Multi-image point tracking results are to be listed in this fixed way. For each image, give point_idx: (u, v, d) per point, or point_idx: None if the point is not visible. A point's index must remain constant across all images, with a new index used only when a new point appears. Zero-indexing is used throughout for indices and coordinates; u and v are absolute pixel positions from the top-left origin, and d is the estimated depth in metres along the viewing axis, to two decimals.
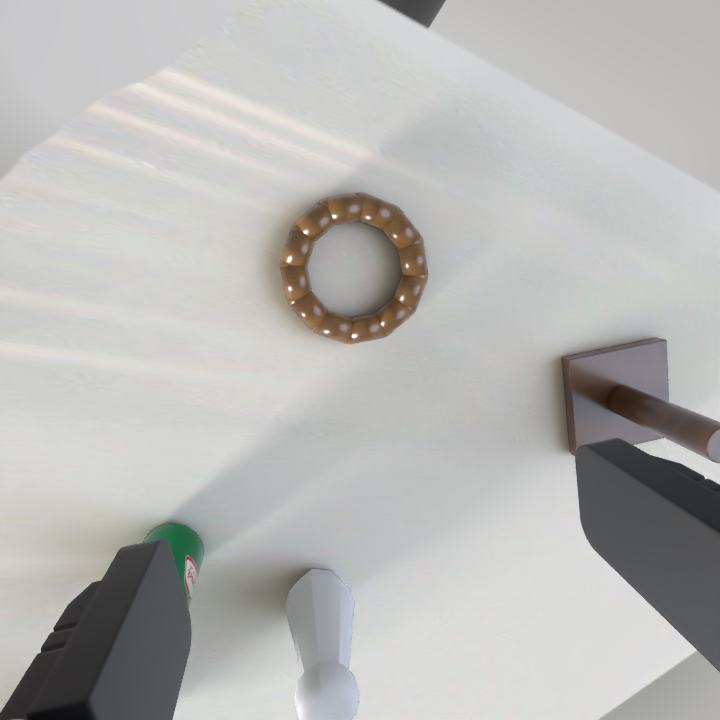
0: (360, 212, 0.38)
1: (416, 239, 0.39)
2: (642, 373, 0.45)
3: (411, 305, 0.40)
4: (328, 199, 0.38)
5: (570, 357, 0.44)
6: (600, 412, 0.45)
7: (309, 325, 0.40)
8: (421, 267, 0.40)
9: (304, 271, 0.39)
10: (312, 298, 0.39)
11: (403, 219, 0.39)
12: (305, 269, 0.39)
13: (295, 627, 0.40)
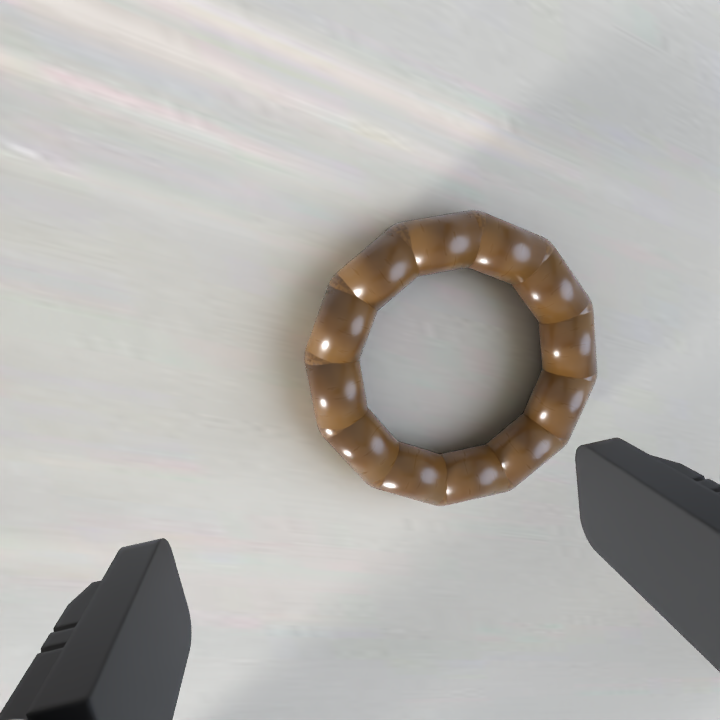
0: (475, 252, 0.18)
1: (584, 306, 0.19)
2: None
3: (565, 435, 0.20)
4: (408, 225, 0.18)
5: None
6: None
7: (362, 476, 0.20)
8: (589, 361, 0.20)
9: (355, 373, 0.19)
10: (370, 425, 0.19)
11: (560, 266, 0.19)
12: (357, 368, 0.19)
13: None
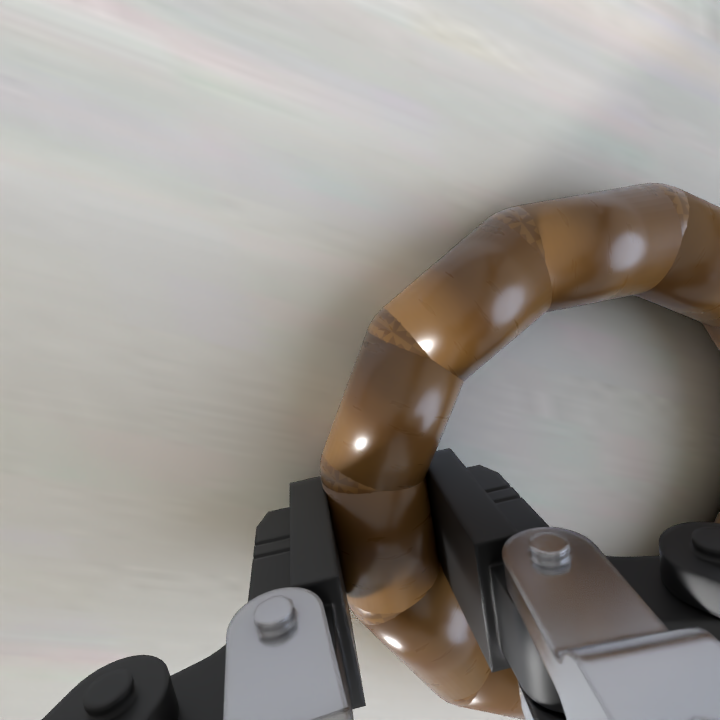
0: (665, 267, 0.09)
1: None
2: None
3: None
4: (533, 212, 0.09)
5: None
6: None
7: (428, 685, 0.11)
8: None
9: (421, 503, 0.10)
10: (447, 599, 0.10)
11: None
12: (424, 493, 0.10)
13: None
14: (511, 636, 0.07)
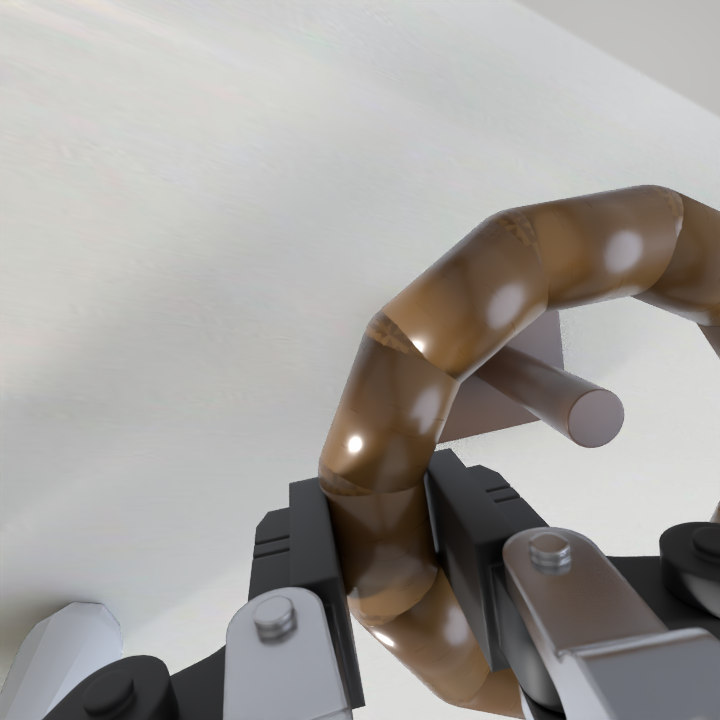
0: (661, 268, 0.09)
1: None
2: None
3: None
4: (529, 214, 0.09)
5: None
6: (466, 381, 0.32)
7: (428, 686, 0.11)
8: None
9: (419, 505, 0.10)
10: (445, 600, 0.10)
11: None
12: (422, 495, 0.10)
13: None
14: (511, 636, 0.07)
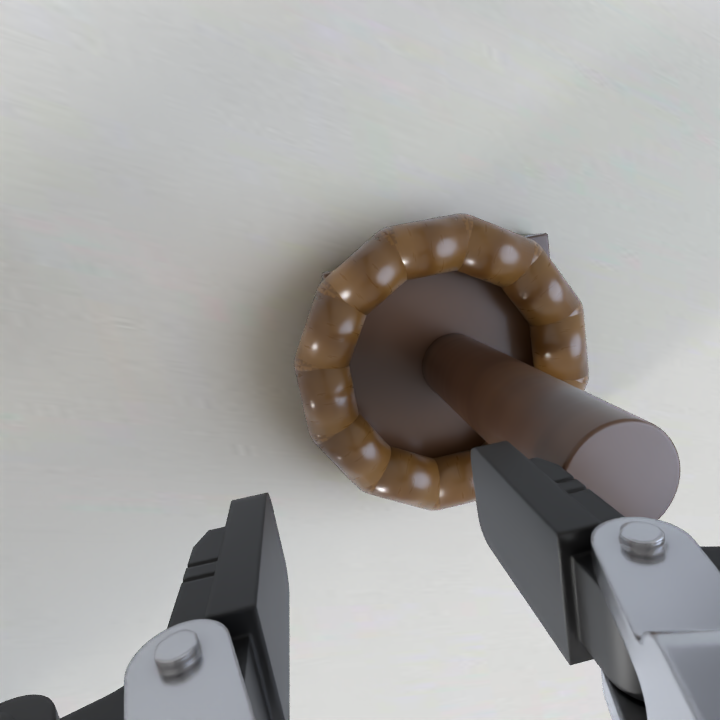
0: (462, 256, 0.18)
1: (573, 307, 0.19)
2: (497, 308, 0.21)
3: None
4: (395, 229, 0.18)
5: None
6: (409, 393, 0.21)
7: (354, 481, 0.20)
8: (580, 362, 0.20)
9: (345, 378, 0.19)
10: (361, 430, 0.19)
11: (549, 268, 0.19)
12: (347, 373, 0.19)
13: None
14: (598, 627, 0.07)
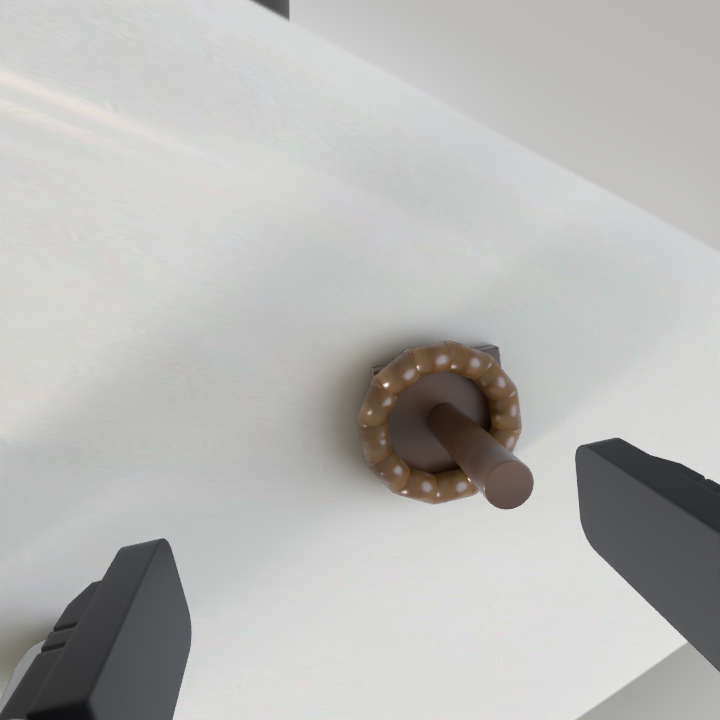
0: (450, 365, 0.34)
1: (511, 392, 0.35)
2: (470, 388, 0.36)
3: None
4: (414, 351, 0.34)
5: (378, 368, 0.36)
6: (420, 437, 0.37)
7: (389, 487, 0.35)
8: (516, 421, 0.35)
9: (385, 430, 0.34)
10: (394, 459, 0.35)
11: (497, 370, 0.34)
12: (386, 427, 0.34)
13: None
14: None
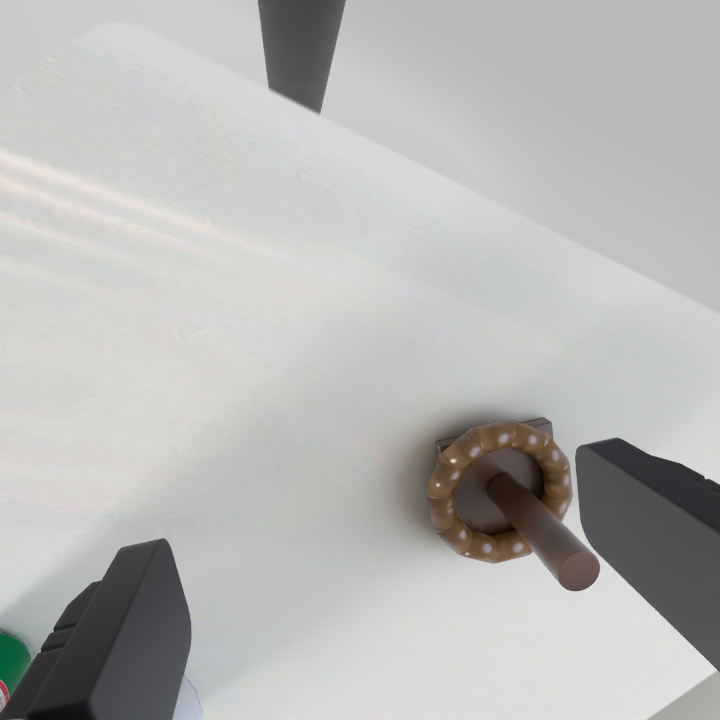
0: (511, 444, 0.38)
1: (564, 465, 0.39)
2: (525, 459, 0.40)
3: None
4: (479, 432, 0.38)
5: (443, 442, 0.40)
6: (480, 502, 0.41)
7: (454, 550, 0.39)
8: (568, 490, 0.39)
9: (452, 501, 0.38)
10: (459, 525, 0.39)
11: (552, 447, 0.38)
12: (453, 498, 0.38)
13: None
14: None
